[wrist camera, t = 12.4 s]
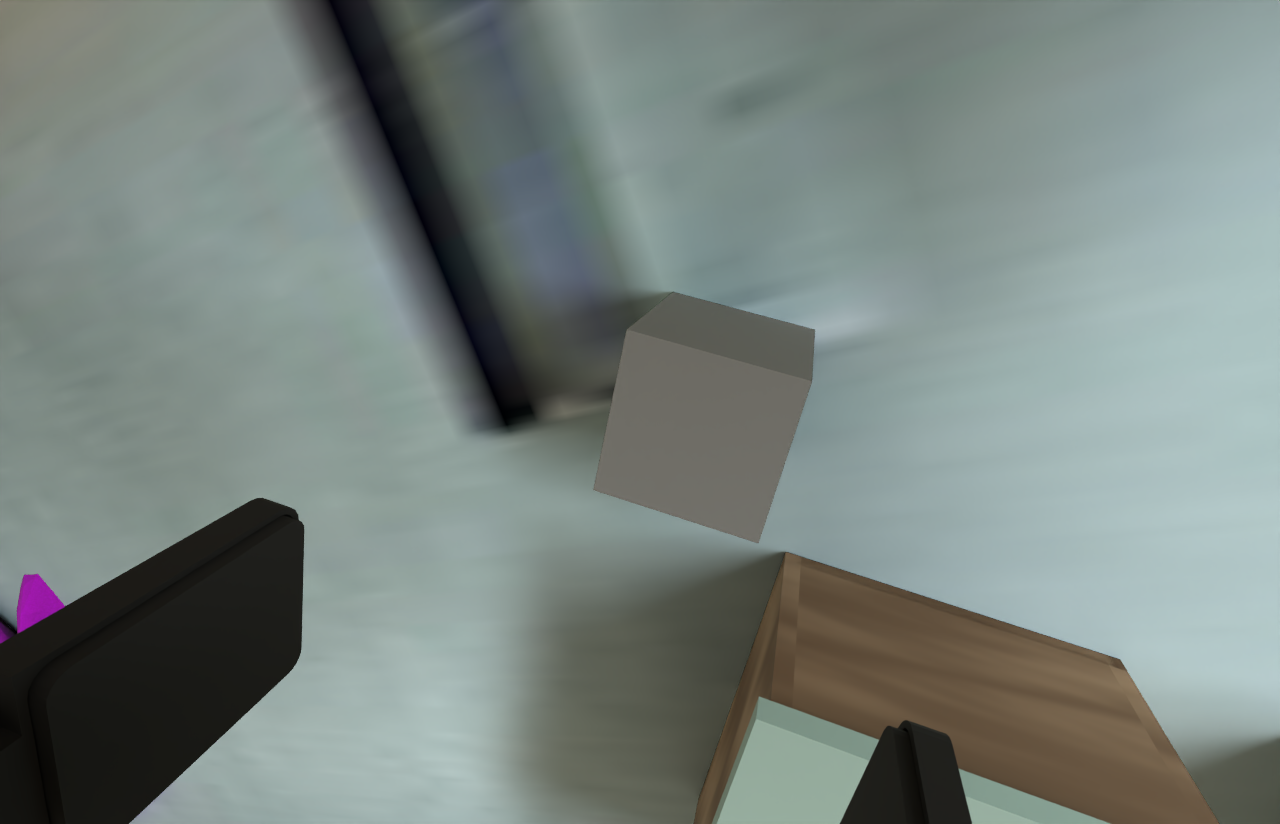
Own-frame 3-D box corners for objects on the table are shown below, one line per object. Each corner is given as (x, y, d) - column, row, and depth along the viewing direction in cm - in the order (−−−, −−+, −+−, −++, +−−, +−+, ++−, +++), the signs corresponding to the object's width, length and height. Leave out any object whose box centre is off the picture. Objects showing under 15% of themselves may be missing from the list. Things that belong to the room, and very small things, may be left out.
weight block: (673, 291, 23) (626, 329, 18) (815, 329, 22) (812, 381, 17) (643, 420, 25) (593, 490, 20) (773, 459, 24) (758, 542, 19)
